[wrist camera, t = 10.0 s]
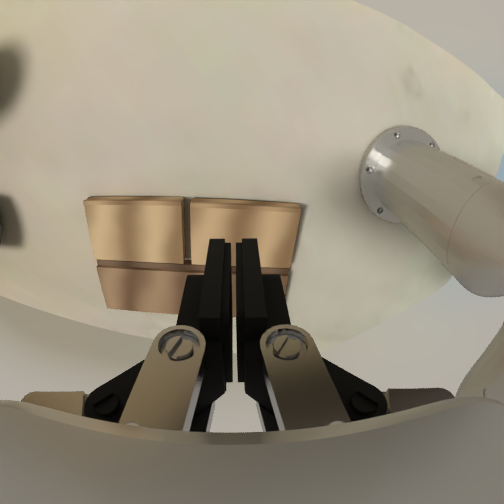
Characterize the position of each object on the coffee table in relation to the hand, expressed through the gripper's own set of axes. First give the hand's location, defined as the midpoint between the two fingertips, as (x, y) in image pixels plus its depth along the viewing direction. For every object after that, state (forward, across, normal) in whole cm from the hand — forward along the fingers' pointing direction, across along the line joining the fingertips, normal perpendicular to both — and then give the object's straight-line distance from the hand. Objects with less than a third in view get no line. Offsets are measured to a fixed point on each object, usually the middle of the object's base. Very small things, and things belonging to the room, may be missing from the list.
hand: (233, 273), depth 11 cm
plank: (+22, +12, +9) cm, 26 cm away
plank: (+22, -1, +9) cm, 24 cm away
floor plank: (+22, +6, +17) cm, 29 cm away
